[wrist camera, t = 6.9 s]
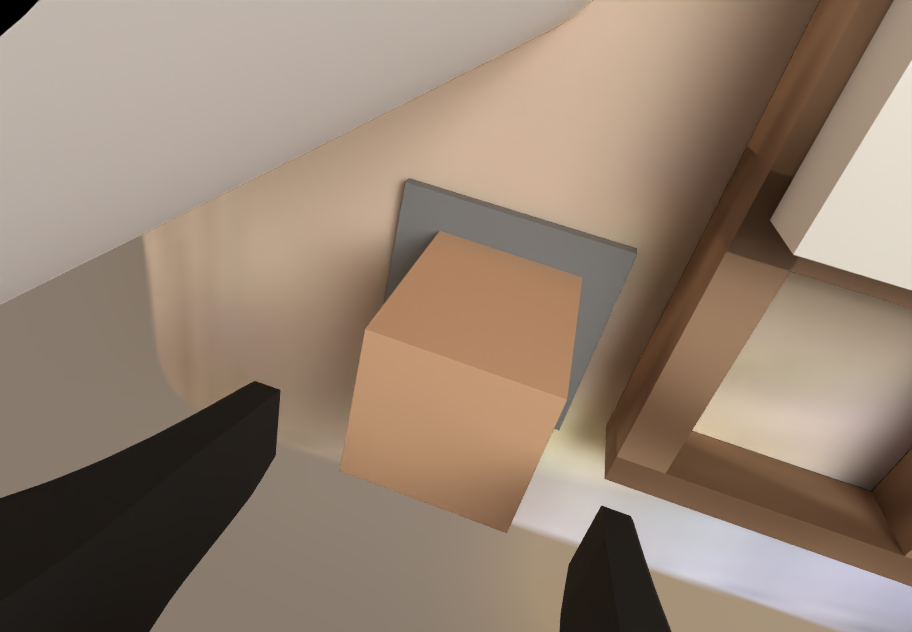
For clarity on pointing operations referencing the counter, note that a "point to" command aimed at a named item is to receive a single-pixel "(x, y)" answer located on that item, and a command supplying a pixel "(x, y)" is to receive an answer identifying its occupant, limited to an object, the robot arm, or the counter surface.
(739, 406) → the counter surface
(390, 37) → the cup
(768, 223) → the wooden grid frame
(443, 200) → the pad
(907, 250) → the cover
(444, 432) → the block
